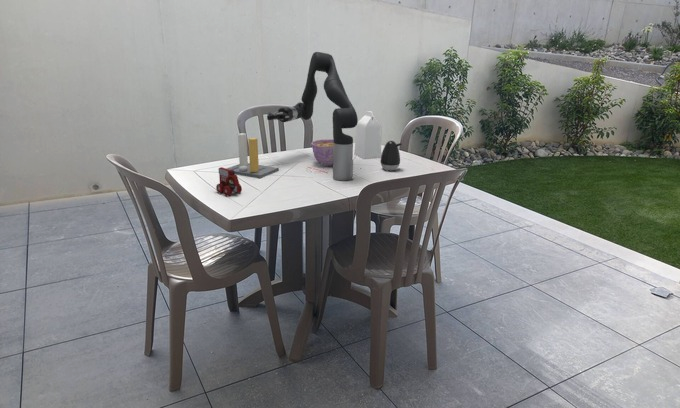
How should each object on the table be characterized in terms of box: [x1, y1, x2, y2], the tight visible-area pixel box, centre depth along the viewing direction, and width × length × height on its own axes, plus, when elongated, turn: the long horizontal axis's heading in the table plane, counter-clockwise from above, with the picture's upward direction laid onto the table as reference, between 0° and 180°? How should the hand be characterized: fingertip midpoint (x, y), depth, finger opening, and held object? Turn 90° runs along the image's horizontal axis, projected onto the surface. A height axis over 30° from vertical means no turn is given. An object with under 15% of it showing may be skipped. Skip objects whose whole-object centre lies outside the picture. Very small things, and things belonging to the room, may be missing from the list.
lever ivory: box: [237, 132, 249, 166], centre depth 221 cm, size 3×3×16 cm
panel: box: [226, 162, 280, 179], centre depth 218 cm, size 22×16×2 cm
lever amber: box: [247, 137, 260, 172], centre depth 210 cm, size 3×3×16 cm
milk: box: [353, 110, 382, 160], centre depth 250 cm, size 12×12×26 cm
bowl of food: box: [311, 139, 333, 167], centre depth 234 cm, size 20×20×12 cm
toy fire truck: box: [215, 166, 243, 197], centre depth 185 cm, size 7×12×10 cm, turn 50°
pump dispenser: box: [380, 140, 402, 171], centre depth 225 cm, size 10×10×15 cm
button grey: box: [239, 166, 248, 172], centre depth 214 cm, size 4×4×2 cm
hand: (268, 117), depth 216 cm, fingers closed
